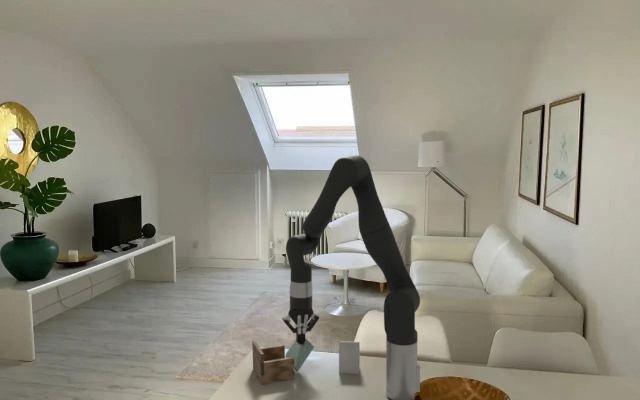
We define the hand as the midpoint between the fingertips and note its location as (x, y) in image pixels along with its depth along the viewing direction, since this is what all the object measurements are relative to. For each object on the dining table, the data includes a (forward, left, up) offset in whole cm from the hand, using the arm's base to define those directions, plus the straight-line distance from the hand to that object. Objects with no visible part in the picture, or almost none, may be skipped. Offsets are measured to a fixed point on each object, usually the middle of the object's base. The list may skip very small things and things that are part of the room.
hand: (300, 343), depth 171 cm
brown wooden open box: (+9, 0, -9) cm, 13 cm away
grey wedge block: (-15, +7, -9) cm, 19 cm away
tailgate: (+3, 0, -6) cm, 7 cm away
